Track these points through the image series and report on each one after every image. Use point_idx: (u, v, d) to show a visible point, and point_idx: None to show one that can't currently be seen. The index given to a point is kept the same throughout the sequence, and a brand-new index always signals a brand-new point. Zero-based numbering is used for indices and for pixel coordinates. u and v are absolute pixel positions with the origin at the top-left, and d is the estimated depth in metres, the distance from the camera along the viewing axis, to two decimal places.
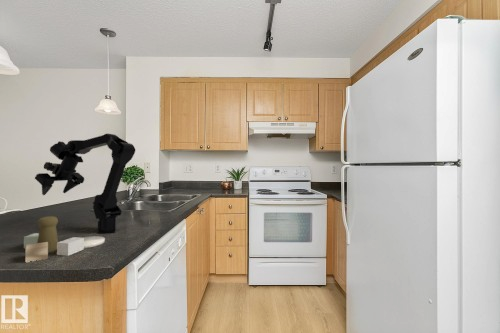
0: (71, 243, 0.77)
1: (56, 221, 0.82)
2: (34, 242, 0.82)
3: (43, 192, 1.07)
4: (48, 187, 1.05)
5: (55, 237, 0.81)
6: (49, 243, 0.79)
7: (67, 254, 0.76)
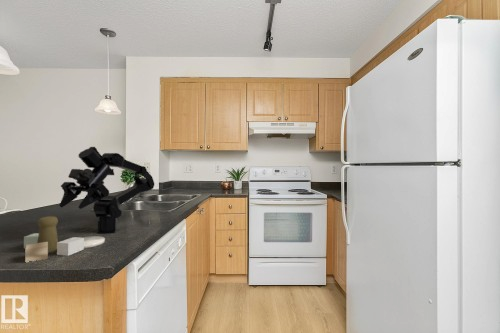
0: (71, 243, 0.77)
1: (56, 221, 0.82)
2: (34, 242, 0.83)
3: (84, 205, 0.88)
4: None
5: (55, 237, 0.81)
6: (49, 243, 0.79)
7: (67, 254, 0.76)
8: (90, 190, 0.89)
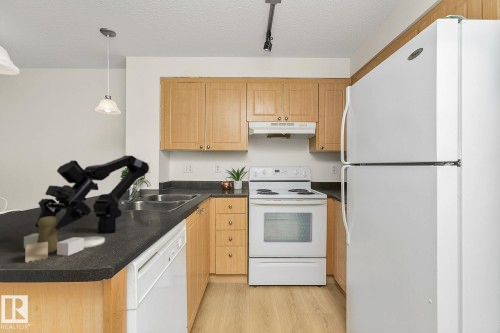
0: (71, 243, 0.77)
1: (56, 221, 0.82)
2: (34, 242, 0.83)
3: (61, 225, 0.80)
4: None
5: (55, 237, 0.81)
6: (49, 243, 0.79)
7: (67, 254, 0.76)
8: (69, 209, 0.81)
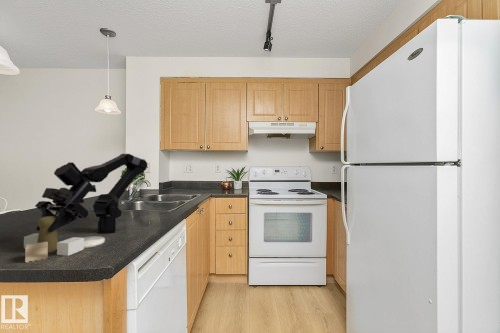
0: (71, 243, 0.77)
1: None
2: (34, 242, 0.83)
3: (54, 228, 0.80)
4: None
5: (55, 237, 0.81)
6: (49, 243, 0.79)
7: (67, 254, 0.76)
8: (61, 211, 0.81)
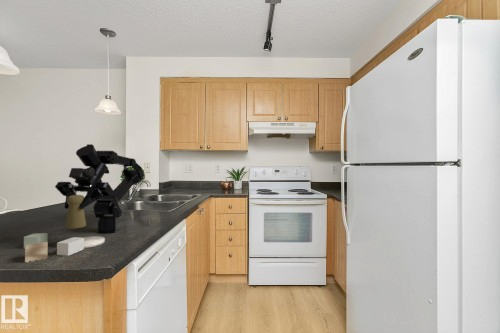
0: (71, 243, 0.77)
1: None
2: (34, 242, 0.83)
3: (84, 205, 0.85)
4: None
5: (84, 214, 0.86)
6: (80, 219, 0.85)
7: (67, 254, 0.76)
8: (90, 189, 0.87)
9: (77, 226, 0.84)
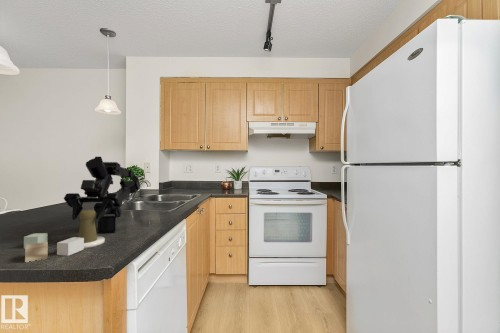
0: (71, 243, 0.77)
1: None
2: (34, 242, 0.83)
3: (100, 216, 0.89)
4: None
5: (95, 228, 0.89)
6: (93, 233, 0.88)
7: (67, 254, 0.76)
8: (106, 200, 0.90)
9: (90, 240, 0.86)
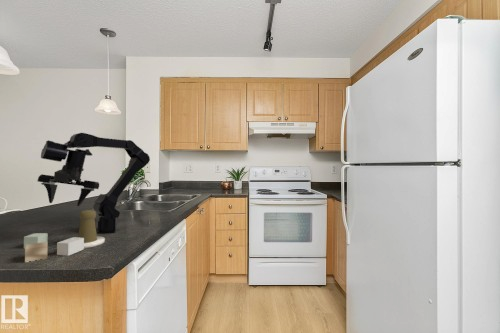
0: (71, 243, 0.77)
1: None
2: (34, 242, 0.83)
3: (81, 202, 0.94)
4: None
5: (95, 228, 0.89)
6: (93, 233, 0.88)
7: (67, 254, 0.76)
8: (84, 190, 0.92)
9: (90, 240, 0.86)
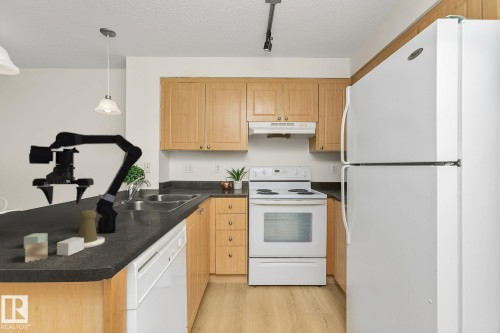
0: (71, 243, 0.77)
1: None
2: (34, 242, 0.83)
3: (79, 199, 0.97)
4: None
5: (95, 228, 0.89)
6: (93, 233, 0.88)
7: (67, 254, 0.76)
8: (80, 188, 0.94)
9: (90, 240, 0.86)
